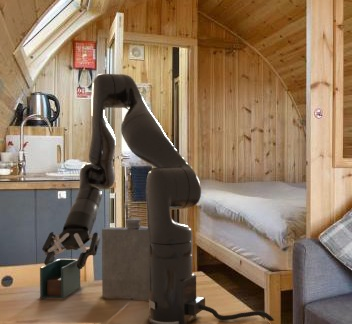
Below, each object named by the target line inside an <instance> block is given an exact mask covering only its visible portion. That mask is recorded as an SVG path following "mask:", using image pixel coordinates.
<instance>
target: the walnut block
mask: <svg viewBox="0 0 352 324" xmlns="http://www.w3.org/2000/svg"><path fill="white" fill-rule="evenodd" d="M47 296H61V276H54V277H52V278H50V279H48V280H47Z"/></svg>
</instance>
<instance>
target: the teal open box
mask: <svg viewBox="0 0 352 324" xmlns="http://www.w3.org/2000/svg"><path fill="white" fill-rule="evenodd" d="M78 259H79V258H58V259H55V260H54V261H53V262H51V263H49V264H47V265H45V264H44V265H42V266H41V267H39V297H40V299H64V298H66V297H68V296H69V295H70V294H72V293H73V292H75V291H76V290H79V289H80V288H81V269H78V267H77V262H78ZM54 276H61V296H47V280H48V279H50V278H52V277H54Z"/></svg>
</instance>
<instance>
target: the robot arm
mask: <svg viewBox="0 0 352 324" xmlns="http://www.w3.org/2000/svg"><path fill="white" fill-rule="evenodd" d="M113 108H114V109H126V110H127V112H126V113H125V115H124V117H123V119H122V121H121V124H120V132H121V135H122V138H123V140H124V142H125V143H126V146H127V147H128V149H129V150H130V152H131V153H132V154H134V156H135V157H137V158H138V159H140V160H142V161H143V162H145V163H147V164H148V165H150V166H152V167H153V168H152V169H151V170H149V172H148V174H147V177H146V180H145V181H146V183H145V201H146V202H145V203H146V217H147V218H146V219H147V220H146V221H147V227H148V230H149V241H150V242H149V255H150V256H149V265H150V300H149V301H148V308H149V315H148V317H149V318H148V319H149V323H150V324H190V323H191V322H192V321H193V320H195V318H197V315H198V314H199V313H201V312H202V311H204V312H208V313H210V314H212V316H213V317H214V318H215V319H217V320H219V321H231V320H237V319H240V318H248V317H256V316H260V317H263V318H265V319H266V320H267V321H270V322H273V321H275V319H274V318H273V316H272V315H270V314H269V313H267V312H265V311H262V310H251V311H246V312H245V311H244V312H238V313H235V314H228V315H227V314H225V315H222V314H220V313H219V312H218V311H217V310H216V309H214V308H212V307H210V306H207V305H206V297H202V296H197V275H196V273H193V229H192V227H190V226H189V225H186V224H182V223H179V222H177V221H176V220H174V219H173V218H172V215H171V211H172V210H184V209H189V208H193V207H195V206H196V205H197V204H198V203H199V202H200V200H201V197H202V186H201V181H200V179H199V177H198V175H197V173H196V172H195V170H194V169H193V167H192V166H191V165H190V164H189V163H188V162H187V160H186V159H185V158H184V157H183V156H182V155H181V154H180V153H179V152H178V150H177V149H176V148H175V146H174V145H173V143H172V142H171V141H170V139H169V138H168V137H167V135H166V133H165V132H164V130H163V128H162V126H161V125H160V123H159V122H158V120H157V119H156V118H155V116H154V115H153V113H152V112H151V110H150V109H149V107H148V106H147V104H146V102H145V100H144V98H143V96H142V93H141V92H140V90H139V87H138V85H137V83H136V81H135V80H134V78H133V77H131V76H130V75H127V74H124V73H123V74H121V73H98V74H97V75H96V76H95V77H94V79H93V83H92V89H91V139H90V145H89V151H88V161H89V162H87V163H85V164H83V165H82V166H81V168H80V171H79V187H78V191H77V195H76V197H75V199H74V202H73V204H72V206H71V207H70V210H69V211H68V215H67V216H66V220H65V222H64V224H63V227H62V231H61V233H60V234H57V233H55V232H53V231H51V232H49V234H48V236H47V238H46V240H45V242H44V244H43V246H42V247H41V248H42V249H41V250H42V251H43V253H44V254H45V256H46V257H45V259H44V263H43V264H44V266H45V265H47V264H49V263H51V262H53V261H55V260H56V259H55V258H56V256H57V255H59V254H60V253H63V252H64V251H65V250H66V251H70V250H74V251H78V250H79V249H80V250H81V253H79V256H78V258H77V259H78V262H77V267H78V269H80V270H82V269H83V268H85V266H86V264H87V260H88V258H89V257H90V256H94V257H95V256H96V255H97V254H98V253H97V252H98V249H99V245H100V241H101V237H100V235H99V234H98V232H93V234H92V231H93V228H94V225H95V222H96V220H97V217H98V211H99V207H100V205H101V202H102V199H103V193H102V190H106V191H107V190H110V188H112V187H113V185H114V184H115V180H116V173H115V168H114V155H115V149H116V137H115V134H114V130H113V129H112V127H111V126H110V124H109V123H108V121H107V118H106V116H105V110H106V109H113ZM89 241H90V245H89V248H86V244H87V243H88V242H89Z"/></svg>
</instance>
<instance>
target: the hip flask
mask: <svg viewBox="0 0 352 324" xmlns="http://www.w3.org/2000/svg"><path fill="white" fill-rule="evenodd" d="M141 222H142V219H141V218H135V217H133V218H126V219H125V223H126V227H103V228H101V281H102V282H101V285H102V286H101V288H102V289H101V290H102V291H101V293H102V295H101V296H102V298H128V299H130V300H131V301H132V300H135V301H147V302H149V300H150V265H149V256H150V255H149V242H150V241H149V230H148V226H142V225H141V224H140V223H141Z"/></svg>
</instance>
